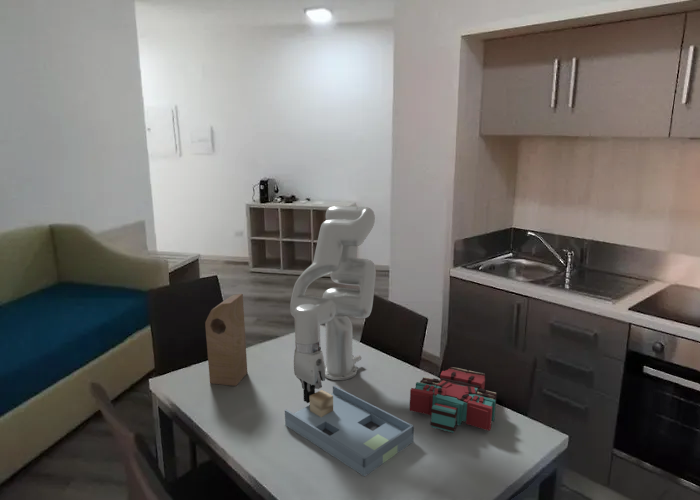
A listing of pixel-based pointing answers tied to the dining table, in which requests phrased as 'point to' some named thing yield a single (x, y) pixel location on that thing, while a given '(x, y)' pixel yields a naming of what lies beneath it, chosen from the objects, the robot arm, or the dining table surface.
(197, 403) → the dining table surface
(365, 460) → the trap board
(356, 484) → the dining table surface
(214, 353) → the decorative block
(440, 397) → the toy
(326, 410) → the oak block
